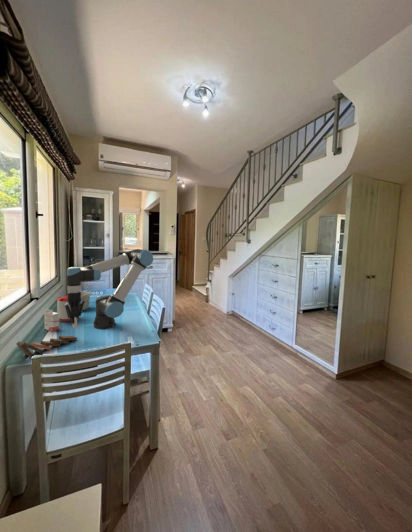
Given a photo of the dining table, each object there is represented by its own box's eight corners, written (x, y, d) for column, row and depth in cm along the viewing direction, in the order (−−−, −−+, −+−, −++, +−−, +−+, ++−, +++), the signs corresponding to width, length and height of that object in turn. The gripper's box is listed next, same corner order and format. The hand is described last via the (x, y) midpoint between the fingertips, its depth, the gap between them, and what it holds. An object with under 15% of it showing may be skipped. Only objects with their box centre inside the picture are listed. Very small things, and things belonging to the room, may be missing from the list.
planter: (69, 308, 220) (69, 291, 219) (90, 306, 227) (90, 290, 226) (67, 313, 205) (67, 296, 203) (90, 312, 212) (89, 294, 211)
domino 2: (37, 348, 139) (24, 342, 133) (42, 350, 137) (29, 344, 131) (35, 351, 139) (22, 345, 132) (40, 353, 136) (27, 347, 130)
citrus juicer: (81, 315, 203) (81, 291, 201) (77, 322, 187) (77, 296, 185) (60, 316, 198) (60, 292, 196) (54, 323, 182) (53, 297, 180)
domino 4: (55, 341, 148) (41, 340, 141) (60, 343, 146) (46, 342, 138) (54, 344, 148) (40, 343, 140) (59, 346, 146) (45, 345, 138)
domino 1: (28, 352, 135) (18, 341, 131) (33, 354, 133) (23, 343, 128) (25, 354, 134) (15, 343, 129) (30, 357, 131) (20, 345, 127)
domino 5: (64, 338, 153) (50, 338, 145) (69, 340, 151) (55, 340, 143) (63, 341, 153) (49, 341, 145) (68, 343, 150) (54, 343, 142)
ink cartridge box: (59, 329, 172) (59, 308, 170) (53, 331, 167) (52, 310, 165) (51, 327, 175) (50, 307, 173) (44, 329, 170) (43, 308, 168)
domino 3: (46, 345, 144) (32, 342, 136) (51, 347, 141) (37, 344, 134) (45, 347, 143) (30, 344, 136) (50, 349, 141) (35, 347, 133)
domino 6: (72, 335, 158) (59, 336, 150) (77, 337, 155) (64, 337, 147) (71, 338, 157) (58, 338, 150) (76, 340, 155) (63, 340, 147)
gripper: (80, 289, 161) (80, 323, 163) (60, 292, 149) (61, 329, 152) (87, 290, 157) (87, 326, 160) (67, 294, 146) (68, 332, 148)
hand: (74, 327), depth 156 cm, fingers closed
